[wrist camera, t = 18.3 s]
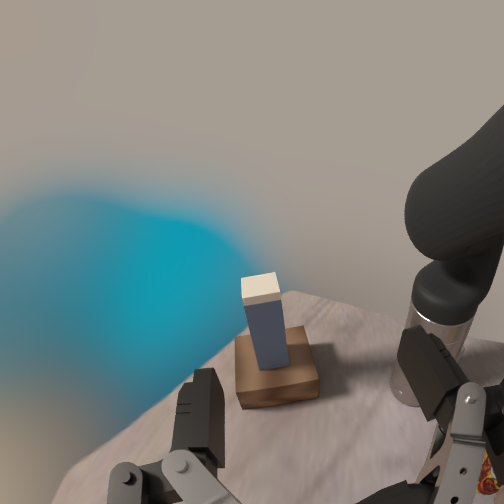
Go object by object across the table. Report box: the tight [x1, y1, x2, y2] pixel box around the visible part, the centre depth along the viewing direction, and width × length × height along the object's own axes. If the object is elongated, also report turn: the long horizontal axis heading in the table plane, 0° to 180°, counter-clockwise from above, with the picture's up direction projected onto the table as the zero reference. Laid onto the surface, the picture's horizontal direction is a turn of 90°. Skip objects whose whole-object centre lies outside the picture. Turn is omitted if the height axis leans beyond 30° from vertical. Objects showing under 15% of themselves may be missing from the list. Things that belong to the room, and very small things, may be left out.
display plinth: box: [235, 326, 319, 409], centre depth 44 cm, size 12×12×5 cm
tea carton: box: [241, 272, 289, 371], centre depth 40 cm, size 5×5×14 cm
